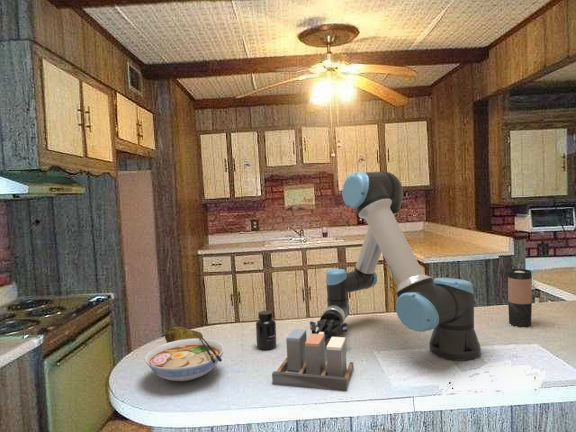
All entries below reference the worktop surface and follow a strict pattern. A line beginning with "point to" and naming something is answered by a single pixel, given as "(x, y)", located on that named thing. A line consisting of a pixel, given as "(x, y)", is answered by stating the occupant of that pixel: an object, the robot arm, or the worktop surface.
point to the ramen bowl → (184, 358)
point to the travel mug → (519, 297)
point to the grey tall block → (336, 357)
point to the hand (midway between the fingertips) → (317, 343)
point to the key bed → (311, 378)
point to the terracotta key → (315, 354)
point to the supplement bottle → (266, 331)
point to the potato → (181, 334)
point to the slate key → (296, 349)
